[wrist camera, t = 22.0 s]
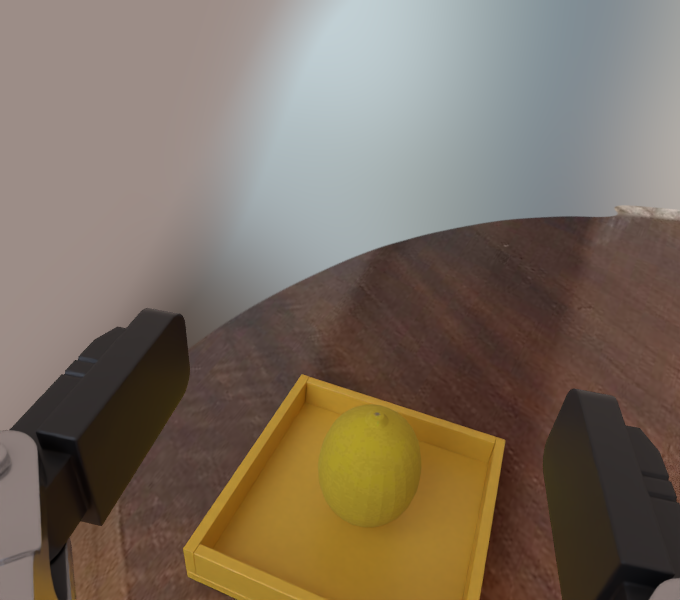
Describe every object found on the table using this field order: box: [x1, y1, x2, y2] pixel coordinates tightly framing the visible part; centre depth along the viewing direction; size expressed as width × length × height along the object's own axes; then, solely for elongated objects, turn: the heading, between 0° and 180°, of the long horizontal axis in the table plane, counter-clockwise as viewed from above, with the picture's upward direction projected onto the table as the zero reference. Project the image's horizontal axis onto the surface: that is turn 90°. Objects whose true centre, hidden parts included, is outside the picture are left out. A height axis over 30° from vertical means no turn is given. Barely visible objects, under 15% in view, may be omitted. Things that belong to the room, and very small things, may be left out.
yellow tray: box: [183, 375, 505, 600], centre depth 31 cm, size 14×14×3 cm
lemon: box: [318, 404, 421, 527], centre depth 29 cm, size 6×6×8 cm
